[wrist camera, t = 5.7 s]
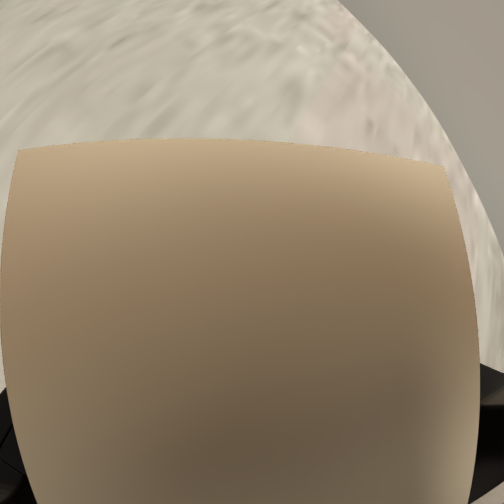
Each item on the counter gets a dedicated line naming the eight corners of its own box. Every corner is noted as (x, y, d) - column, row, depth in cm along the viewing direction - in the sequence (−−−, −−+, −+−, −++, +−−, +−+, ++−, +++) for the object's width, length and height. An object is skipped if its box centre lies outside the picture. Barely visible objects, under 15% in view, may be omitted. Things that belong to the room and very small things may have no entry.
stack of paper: (262, 400, 14) (469, 508, 3) (142, 412, 12) (90, 611, 1) (250, 283, 15) (445, 161, 4) (129, 290, 14) (12, 143, 2)
